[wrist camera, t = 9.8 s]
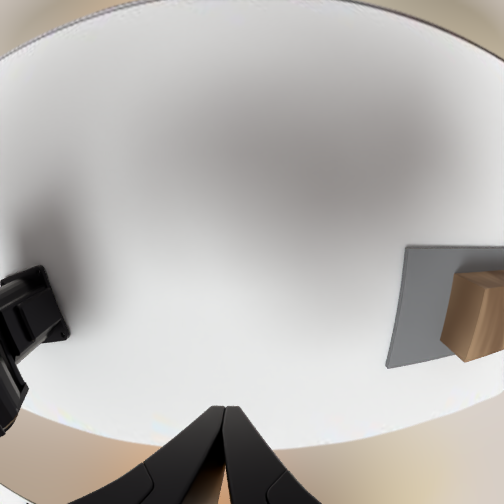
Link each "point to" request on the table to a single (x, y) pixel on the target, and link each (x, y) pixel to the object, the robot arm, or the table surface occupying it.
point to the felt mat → (431, 299)
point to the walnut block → (475, 315)
